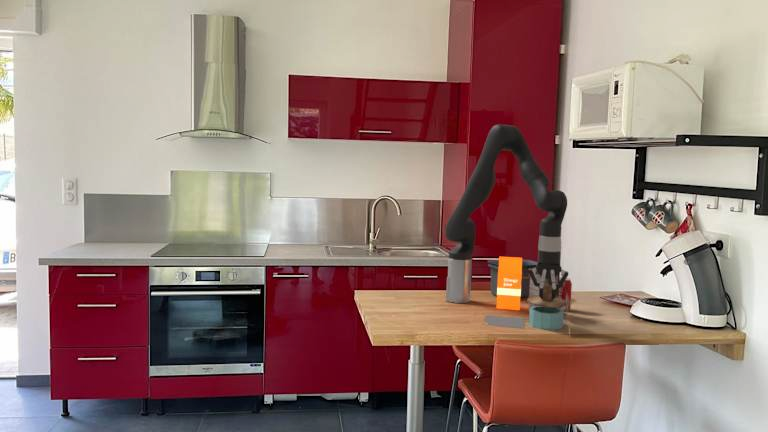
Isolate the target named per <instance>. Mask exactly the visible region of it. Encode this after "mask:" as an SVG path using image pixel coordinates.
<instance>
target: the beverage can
mask: <svg viewBox="0 0 768 432" xmlns="http://www.w3.org/2000/svg"><path fill="white" fill-rule="evenodd" d="M561 278H562V277H560V278H559V282H560V280H561ZM572 288H573V283H572V281H571V278H568V277H567V278H566V280H565V282H564V283H563V285H562V287H561V288H559V298H560V299H563V300H565V301H566V302H567V305H566V306H563V307H558V308H560V309H562V310H563V312H566V311H569V310H570V309H571V305H572V303H571V302H572Z"/></svg>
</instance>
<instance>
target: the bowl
mask: <svg viewBox="0 0 768 432" xmlns="http://www.w3.org/2000/svg"><path fill="white" fill-rule="evenodd" d="M528 312H529V311H528ZM564 312H565V311H563V310H562V309H560V308H556V307H543V306H533V307H530V312H529V314H528V315H529V316H528V325H529V326H531V327H532V328H535V329H539V330H548V331H550V330H551V331H552V330H553V331H554V330H556V331H557V330H560V329H563V326H564Z"/></svg>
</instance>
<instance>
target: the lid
mask: <svg viewBox="0 0 768 432" xmlns="http://www.w3.org/2000/svg"><path fill="white" fill-rule="evenodd" d="M551 296H552V286H550V285H543V299H541V297H539V296H536V297H530V298H529V297H528V298H527V303H528V304H529V303H530V304H533V305H537V306H543V307H563V306H566V305H567V302H566V301H565V300H563V299H560V298H553V300H551Z"/></svg>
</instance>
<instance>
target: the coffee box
mask: <svg viewBox="0 0 768 432" xmlns="http://www.w3.org/2000/svg"><path fill="white" fill-rule="evenodd" d="M560 275H561V272H560V273H559V274H558V275H557V276H556V278H555V282H556V284H558V283H559V278H561V277H560ZM535 277H536V280H537V282H538V283H540V281H541V276H540V274H539V273H538V271H536V274H535ZM544 285H550V286H552V279H545V280H544ZM536 296H539V287H537V286H535V285H534V283H533V281H532V279H531V276H530V291H529V297H528V298H530V297H536ZM555 298H559V288H557V289H556V296H555ZM533 306H537V305H533V304H530V303H528V312H530V307H533ZM556 308H558V307H556Z"/></svg>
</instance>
